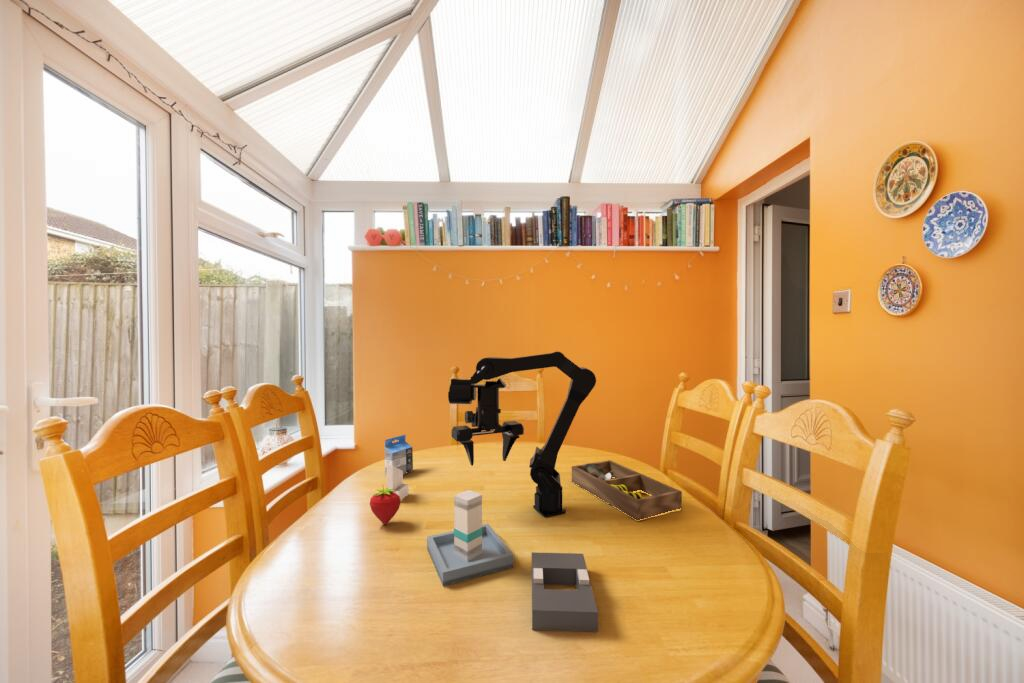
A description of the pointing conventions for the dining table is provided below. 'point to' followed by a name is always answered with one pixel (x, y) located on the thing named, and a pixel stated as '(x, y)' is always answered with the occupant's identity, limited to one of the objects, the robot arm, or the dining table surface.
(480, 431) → the robot arm
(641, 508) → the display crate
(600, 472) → the eagle figurine
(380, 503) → the strawberry
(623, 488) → the yellow coil spring
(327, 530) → the dining table surface
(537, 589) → the block
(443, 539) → the tray
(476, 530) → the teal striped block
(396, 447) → the label tape box
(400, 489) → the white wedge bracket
